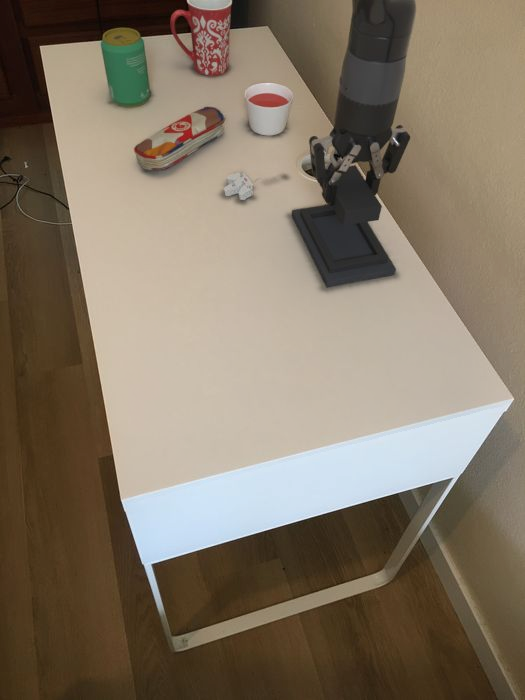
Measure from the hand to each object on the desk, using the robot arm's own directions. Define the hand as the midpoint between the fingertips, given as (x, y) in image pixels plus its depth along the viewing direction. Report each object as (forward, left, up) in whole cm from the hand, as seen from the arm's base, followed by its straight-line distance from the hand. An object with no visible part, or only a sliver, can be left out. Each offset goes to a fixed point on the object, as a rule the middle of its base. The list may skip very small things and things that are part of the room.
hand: (348, 198), depth 84 cm
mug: (+41, -45, -9) cm, 62 cm away
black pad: (0, 0, 0) cm, 0 cm away
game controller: (+17, -9, -9) cm, 21 cm away
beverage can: (+50, -28, -9) cm, 58 cm away
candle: (+21, -28, -9) cm, 36 cm away
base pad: (0, 0, -9) cm, 9 cm away
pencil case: (+33, -15, -9) cm, 37 cm away
